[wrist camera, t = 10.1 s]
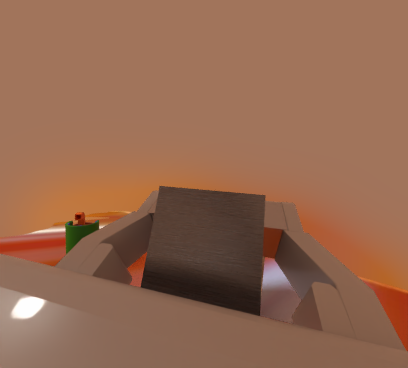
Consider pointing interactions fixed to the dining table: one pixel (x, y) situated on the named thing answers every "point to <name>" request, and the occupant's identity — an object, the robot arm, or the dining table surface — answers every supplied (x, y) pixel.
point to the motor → (78, 230)
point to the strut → (207, 247)
